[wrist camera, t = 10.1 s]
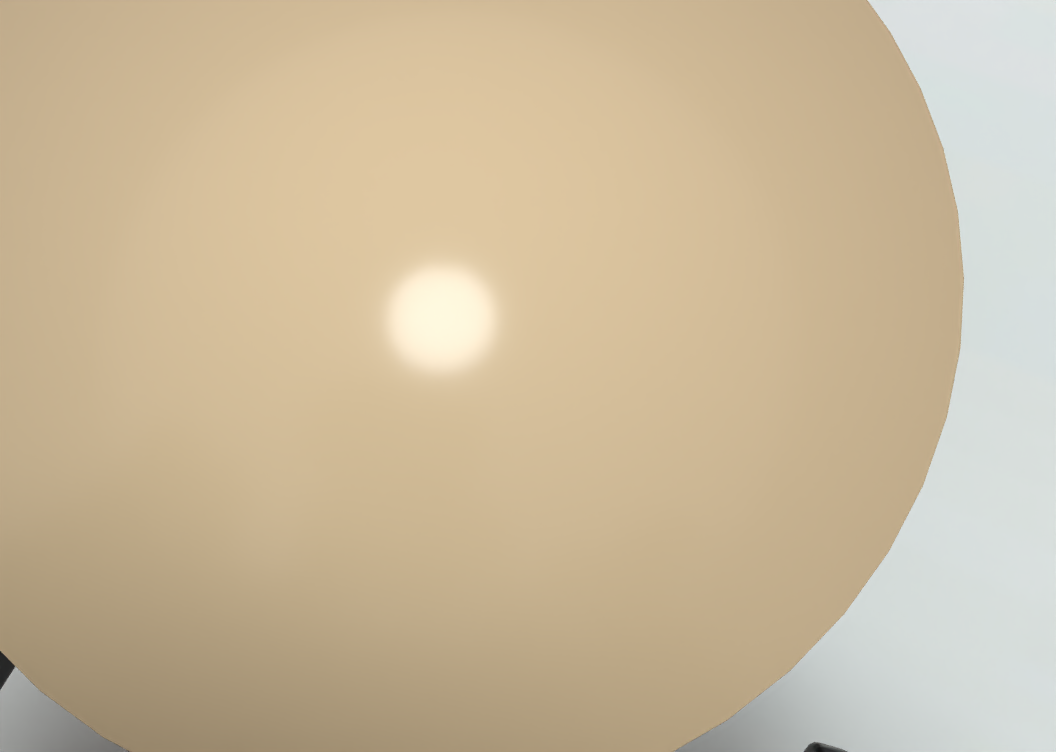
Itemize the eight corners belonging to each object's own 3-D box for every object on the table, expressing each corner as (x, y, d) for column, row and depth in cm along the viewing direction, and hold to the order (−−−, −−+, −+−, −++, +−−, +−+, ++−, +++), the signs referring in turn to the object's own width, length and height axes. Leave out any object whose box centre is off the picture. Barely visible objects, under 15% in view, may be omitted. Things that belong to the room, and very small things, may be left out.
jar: (580, 656, 17) (780, 1040, 4) (329, 554, 18) (-356, 543, 4) (669, 403, 18) (1069, -42, 5) (432, 315, 19) (178, -317, 5)
